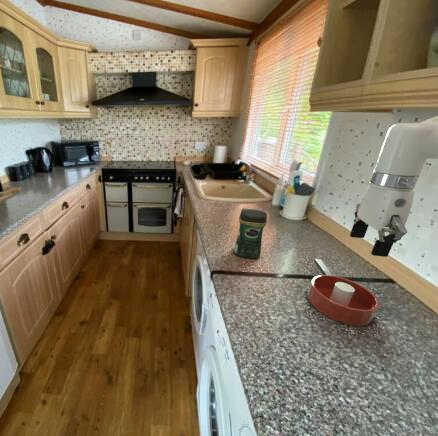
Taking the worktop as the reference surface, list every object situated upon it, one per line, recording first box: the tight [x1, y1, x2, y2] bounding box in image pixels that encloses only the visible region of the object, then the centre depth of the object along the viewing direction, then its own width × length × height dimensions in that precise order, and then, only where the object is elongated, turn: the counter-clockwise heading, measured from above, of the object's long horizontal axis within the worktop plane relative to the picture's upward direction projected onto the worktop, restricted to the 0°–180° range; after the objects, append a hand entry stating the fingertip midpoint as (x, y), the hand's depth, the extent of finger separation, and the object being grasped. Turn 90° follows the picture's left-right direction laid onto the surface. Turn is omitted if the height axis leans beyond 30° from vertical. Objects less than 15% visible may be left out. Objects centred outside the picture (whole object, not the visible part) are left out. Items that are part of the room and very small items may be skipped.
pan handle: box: [313, 258, 334, 276], centre depth 80 cm, size 2×10×1 cm, turn 167°
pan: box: [307, 274, 381, 327], centre depth 69 cm, size 15×15×5 cm
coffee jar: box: [233, 207, 268, 259], centre depth 93 cm, size 10×8×19 cm
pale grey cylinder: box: [330, 282, 355, 307], centre depth 69 cm, size 4×4×6 cm
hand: (366, 245), depth 62 cm, fingers open, 9 cm apart
